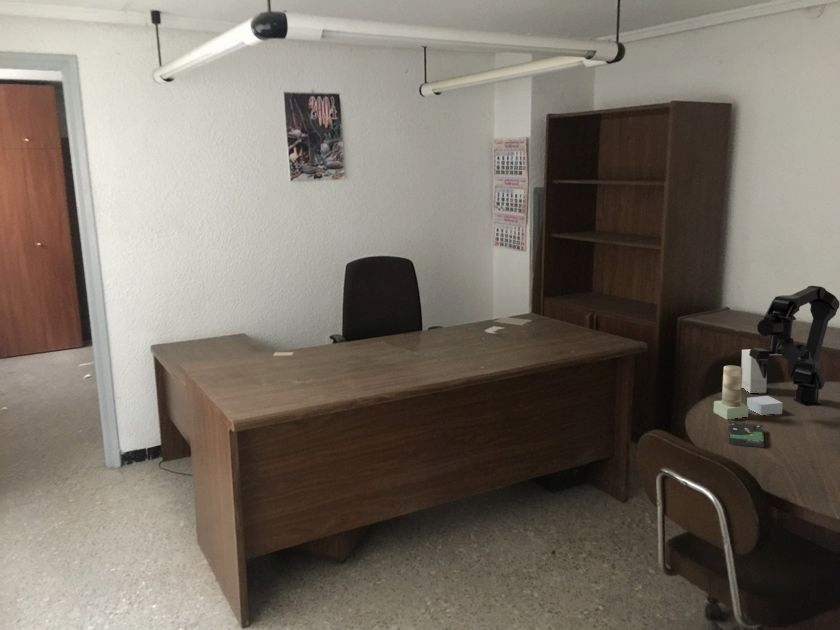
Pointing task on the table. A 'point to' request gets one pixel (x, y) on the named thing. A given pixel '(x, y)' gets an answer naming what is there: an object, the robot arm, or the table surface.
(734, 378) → the birch cylinder
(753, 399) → the blue-grey block
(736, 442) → the disk drive
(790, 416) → the table surface
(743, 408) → the sage block
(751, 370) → the skincare box
